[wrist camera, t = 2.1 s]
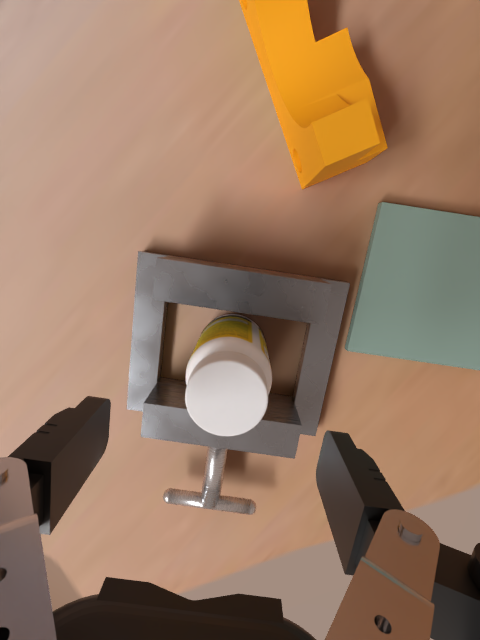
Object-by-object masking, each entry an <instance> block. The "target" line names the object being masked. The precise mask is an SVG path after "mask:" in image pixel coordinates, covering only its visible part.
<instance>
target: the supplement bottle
mask: <svg viewBox="0 0 480 640" xmlns="http://www.w3.org/2000/svg"><path fill="white" fill-rule="evenodd" d="M186 385H187V387H186V392H185V403H186V407H187V411H188V413H189V415H190V417H191V418H192V419H193V421H194V422H195V423H196V424H197V425H198V426H199V427H201V428H202V429H203V430H205V431H207V432H209V433H212V434H215V435H219V436H236V435H240V434H243V433H245V432H247V431H249V430H251V429H252V428H253V427H255V426H256V425H257V424H258V423H259V422H260V420H261V419H262V417H263V416H264V414H265V412H266V409H267V405H268V395H269V393H270V389H271V385H272V370H271V365H270V360H269V356H268V351H267V346H266V341H265V338H264V335H263V333H262V331H261V329H260V328H259V326H258V325H257V324H256V323H255V322H253V321H252V320H251V319H249V318H247V317H245V316H242V315H238V314H226V315H222V316H219V317H217V318H215V319H214V320H212V321H211V322H210V323H209V324H208V325H207V326H206V327H205V329H204V330H203V332H202V334H201V336H200V338H199V340H198V342H197V345H196V347H195V349H194V351H193V353H192V355H191V357H190V360H189V362H188V365H187V368H186Z"/></svg>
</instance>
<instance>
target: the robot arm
mask: <svg viewBox="0 0 480 640" xmlns="http://www.w3.org/2000/svg"><path fill="white" fill-rule="evenodd" d="M110 407H111V403H110V400H109V399H106V398H99V397H92V396H87V397H86V398H85V399H84V400H83V401H82V402H81V403H80V404H79V405H78V406H77V407H76V408H67V409H65V410H63V411H61V412H59V413H57V414H55V415H54V416H52V417H51V418H50V419H49V420H48V421H47V422H46V423H45V425H43V426H41V427H40V428H39V429H38V430H37V432H36V433H34V434H33V435H31V436H30V437H29V438H28V439H27V440H26V441H25V442H24V443H23V444H21V445H20V446H19V447H18V448H17V449H16V450H15V451H14V452H13V453H11V454H10V455H9V456H8V457H2V458H0V640H316V639H315V638H314V637H313V636H312V635H310V634H309V633H308V632H307V631H305V630H304V629H303V628H301V627H300V626H299V625H297V624H295V623H293V622H292V621H290V620H288V619H286V618H284V617H283V612H282V603H281V599H276V598H268V597H260V596H252V595H244V594H235V595H228V596H222V597H216V598H209V599H203V600H196V601H193V600H188V599H186V598H184V597H182V596H179V595H177V594H175V593H172V592H170V591H168V590H165V589H163V588H161V587H159V586H156V585H154V584H152V583H149V582H141V581H133V580H125V579H118V578H110V577H106V578H105V581H104V583H103V586H102V588H101V590H100V593H99V594H97V595H92V596H88V597H84V598H81V599H78V600H76V601H73V602H71V603H68V604H66V605H64V606H62V607H60V608H58V609H56V610H55V611H53V612H52V606H51V599H50V592H49V586H48V580H47V573H46V567H45V560H44V554H43V547H42V541H41V534H48V535H50V534H51V532H52V531H53V529H54V528H55V526H56V525H57V523H58V522H59V520H60V519H61V517H62V516H63V514H64V513H65V511H66V510H67V508H68V507H69V505H70V504H71V502H72V501H73V499H74V498H75V496H76V495H77V493H78V492H79V490H80V489H81V487H82V486H83V484H84V483H85V481H86V480H87V478H88V477H89V475H90V474H91V472H92V471H93V469H94V468H95V466H96V465H97V463H98V462H99V460H100V459H101V457H102V455H103V454H104V452H105V449H106V446H107V443H108V437H109V422H110ZM316 481H317V486H318V490H319V493H320V496H321V499H322V502H323V506H324V509H325V512H326V515H327V518H328V522H329V525H330V528H331V531H332V534H333V538H334V541H335V544H336V547H337V550H338V554H339V557H340V560H341V563H342V566H343V569H344V573H345V574H347V575H353V578H352V580H351V582H350V584H349V587H348V589H347V591H346V593H345V596H344V598H343V600H342V602H341V605H340V607H339V609H338V611H337V614H336V616H335V618H334V620H333V623H332V625H331V627H330V629H329V631H328V634H327V636H326V638H325V640H430V638H432V639H434V640H480V543H478V544H477V545H476V546H475V548H474V551H473V553H472V555H469V554H467V553H464V552H461V551H459V550H456V549H454V548H451V547H448V546H446V545H443V544H441V543H439V540H438V537H437V536H436V534H435V533H434V531H433V530H432V529H431V528H430V527H429V526H428V525H427V524H426V523H425V522H424V521H422V520H421V519H420V518H418V517H416V516H415V515H413V514H411V513H408V512H406V511H404V509H403V507H402V506H401V504H400V502H399V501H398V499H397V498H396V496H395V494H394V493H393V491H392V489H391V488H390V486H389V484H388V483H387V482H386V481H385V478H384V476H383V475H382V473H381V472H380V470H379V468H378V466H377V465H376V463H375V462H374V460H373V459H372V458H371V457H370V456H369V455H368V454H367V453H365V452H364V451H363V450H362V449H357V448H356V446H355V444H354V443H353V441H352V439H351V437H350V435H349V434H348V433H342V432H335V431H326V433H325V435H324V439H323V443H322V447H321V451H320V456H319V460H318V464H317V469H316Z"/></svg>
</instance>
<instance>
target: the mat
mask: <svg viewBox="0 0 480 640" xmlns="http://www.w3.org/2000/svg"><path fill="white" fill-rule="evenodd" d="M345 349H346V350H347V351H352V352H359V353H365V354H372V355H379V356H386V357H393V358H399V359H406V360H413V361H420V362H427V363H433V364H440V365H447V366H454V367H461V368H467V369H474V370H480V217H476V216H470V215H463V214H457V213H450V212H444V211H437V210H431V209H424V208H418V207H411V206H405V205H398V204H392V203H386V202H381V203H378V208H377V212H376V216H375V220H374V225H373V229H372V233H371V238H370V242H369V246H368V250H367V255H366V259H365V263H364V268H363V272H362V276H361V280H360V285H359V289H358V293H357V298H356V302H355V306H354V310H353V315H352V319H351V323H350V327H349V332H348V336H347V340H346V345H345Z"/></svg>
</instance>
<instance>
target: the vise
mask: <svg viewBox="0 0 480 640" xmlns="http://www.w3.org/2000/svg"><path fill="white" fill-rule="evenodd" d="M349 286H350V283H348V282H345V281H338V280H331V279H325V278H318V277H311V276H305V275H298V274H292V273H285V272H278V271H272V270H265V269H258V268H252V267H245V266H238V265H232V264H225V263H218V262H212V261H205V260H199V259H192V258H185V257H179V256H172V255H165V254H159V253H152V252H145V251H138V261H137V275H136V289H135V303H134V316H133V330H132V344H131V357H130V371H129V385H128V399H127V409H129V410H136V411H143V417H142V429H141V437H145V438H152V439H160V440H167V441H174V442H181V443H188V444H195V445H202V446H208V451H207V458H206V465H205V472H204V479H203V486H202V493H201V492H194V491H187V490H180V489H173V488H169V489H167V490H166V491H165V492H164V494H163V499H164V501H165V502H166V503H168V504H175V505H183V506H190V507H197V508H204V509H212V510H219V511H226V512H233V513H240V514H248V515H251V514H253V513H254V512H255V511H256V504H255V502H254V501H253V500H251V499H244V498H237V497H230V496H223V495H220V494H221V488H222V481H223V475H224V469H225V462H226V456H227V449H230V450H237V451H244V452H251V453H259V454H266V455H273V456H280V457H287V458H294V459H295V455H296V450H297V446H298V441H299V436H300V434H305V435H312V436H316V431H317V427H318V422H319V418H320V414H321V409H322V405H323V400H324V396H325V392H326V387H327V383H328V378H329V374H330V369H331V365H332V361H333V356H334V352H335V347H336V343H337V339H338V334H339V330H340V325H341V321H342V316H343V312H344V308H345V303H346V299H347V294H348V290H349ZM168 302H172V303H179V304H185V305H192V306H199V307H206V308H212V309H219V310H226V311H233V312H239V313H246V314H253V315H260V316H266V317H273V318H280V319H287V320H293V321H300V322H307V328H306V333H305V338H304V343H303V348H302V353H301V358H300V363H299V368H298V373H297V378H296V383H295V388H294V393H293V396H286V395H280V394H273V393H269V395H268V405H267V409H266V412H265V414H264V416H263V417H262V419H261V420H260V422H259V423H258V424H257V425H256V426H255V427H253V428H252V429H251V430H249V431H247V432H245V433H243V434H240V435H236V436H219V435H215V434H212V433H209V432H207V431H205V430H203V429H202V428H201V427H199V426H198V425H197V424H196V423H195V422H194V421H193V419H192V418H191V417H190V415H189V413H188V411H187V407H186V403H185V392H186V387H187V385H186V381H183V380H176V379H169V378H162V377H160V376H161V366H162V356H163V345H164V335H165V325H166V314H167V304H168Z"/></svg>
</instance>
